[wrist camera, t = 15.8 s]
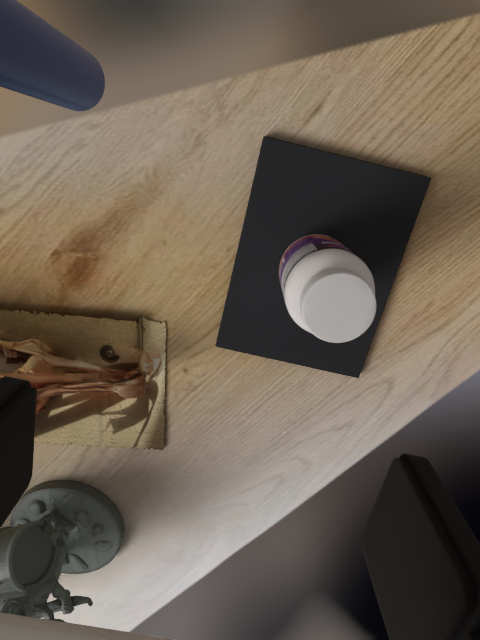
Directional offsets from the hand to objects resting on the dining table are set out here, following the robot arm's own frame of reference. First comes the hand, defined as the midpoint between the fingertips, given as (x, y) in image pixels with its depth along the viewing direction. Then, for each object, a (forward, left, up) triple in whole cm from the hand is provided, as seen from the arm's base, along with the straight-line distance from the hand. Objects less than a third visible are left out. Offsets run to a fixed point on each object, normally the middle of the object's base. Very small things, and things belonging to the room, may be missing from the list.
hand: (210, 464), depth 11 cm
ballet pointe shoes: (+14, -17, -23) cm, 32 cm away
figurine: (+29, -10, -23) cm, 38 cm away
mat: (-1, +6, -23) cm, 24 cm away
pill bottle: (-1, +6, -23) cm, 23 cm away
